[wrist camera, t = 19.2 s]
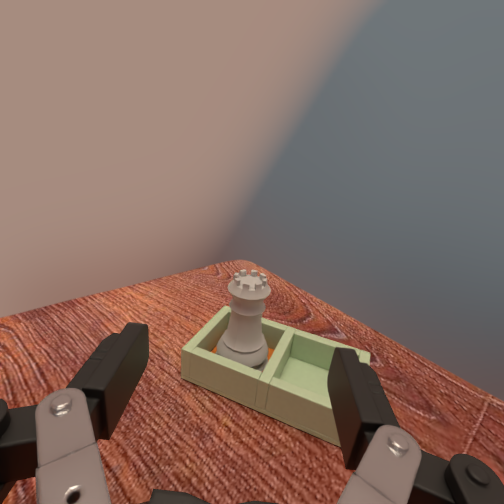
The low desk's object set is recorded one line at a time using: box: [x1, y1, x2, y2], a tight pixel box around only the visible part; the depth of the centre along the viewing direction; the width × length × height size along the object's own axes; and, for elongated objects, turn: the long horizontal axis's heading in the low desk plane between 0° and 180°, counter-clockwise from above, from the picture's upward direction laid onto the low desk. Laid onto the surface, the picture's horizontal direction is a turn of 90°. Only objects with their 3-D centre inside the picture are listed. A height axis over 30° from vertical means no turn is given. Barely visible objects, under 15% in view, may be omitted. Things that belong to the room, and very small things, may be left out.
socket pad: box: [181, 306, 370, 447], centre depth 25 cm, size 13×7×3 cm, turn 67°
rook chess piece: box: [215, 270, 271, 372], centre depth 24 cm, size 4×4×8 cm
